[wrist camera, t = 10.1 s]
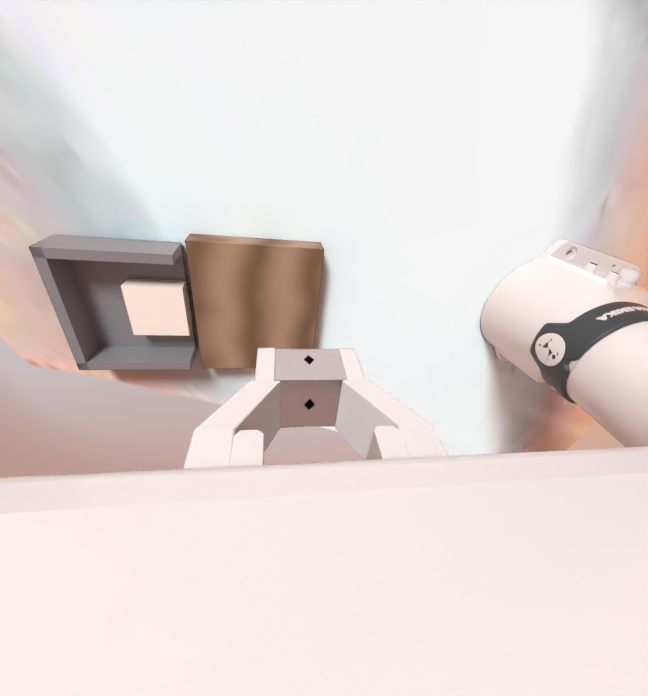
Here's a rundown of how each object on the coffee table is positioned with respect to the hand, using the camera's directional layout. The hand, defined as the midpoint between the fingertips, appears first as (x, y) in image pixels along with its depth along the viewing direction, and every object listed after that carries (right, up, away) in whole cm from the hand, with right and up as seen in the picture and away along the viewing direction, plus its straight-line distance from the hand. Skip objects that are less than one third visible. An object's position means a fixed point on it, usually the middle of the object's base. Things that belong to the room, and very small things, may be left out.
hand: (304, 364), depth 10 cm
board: (-7, +6, +29) cm, 30 cm away
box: (-21, +6, +26) cm, 34 cm away
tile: (-18, +6, +26) cm, 33 cm away
